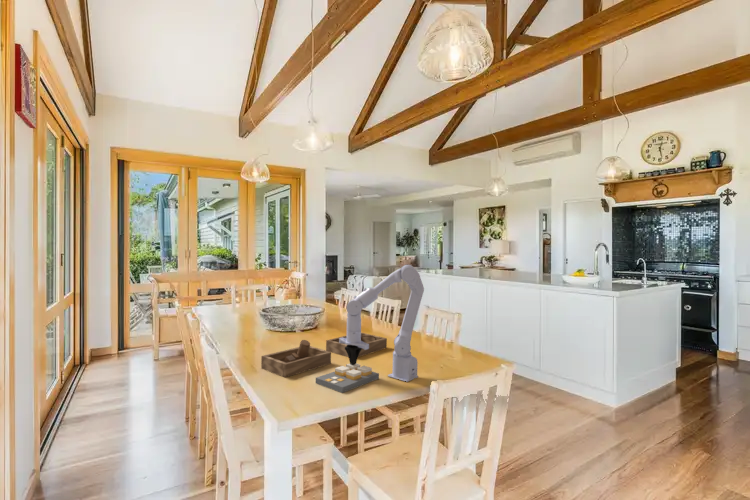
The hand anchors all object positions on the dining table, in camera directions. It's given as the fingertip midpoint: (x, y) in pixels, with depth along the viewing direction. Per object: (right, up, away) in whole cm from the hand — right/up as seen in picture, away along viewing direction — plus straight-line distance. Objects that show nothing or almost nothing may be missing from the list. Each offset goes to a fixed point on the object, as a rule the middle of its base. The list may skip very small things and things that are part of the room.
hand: (353, 364), depth 158 cm
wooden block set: (-23, -4, +9) cm, 25 cm away
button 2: (+1, -3, -8) cm, 9 cm away
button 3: (0, -3, 0) cm, 3 cm away
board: (-2, -5, -6) cm, 8 cm away
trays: (-12, -4, +23) cm, 26 cm away
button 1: (+5, -3, -4) cm, 7 cm away
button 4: (-4, -3, -5) cm, 7 cm away
